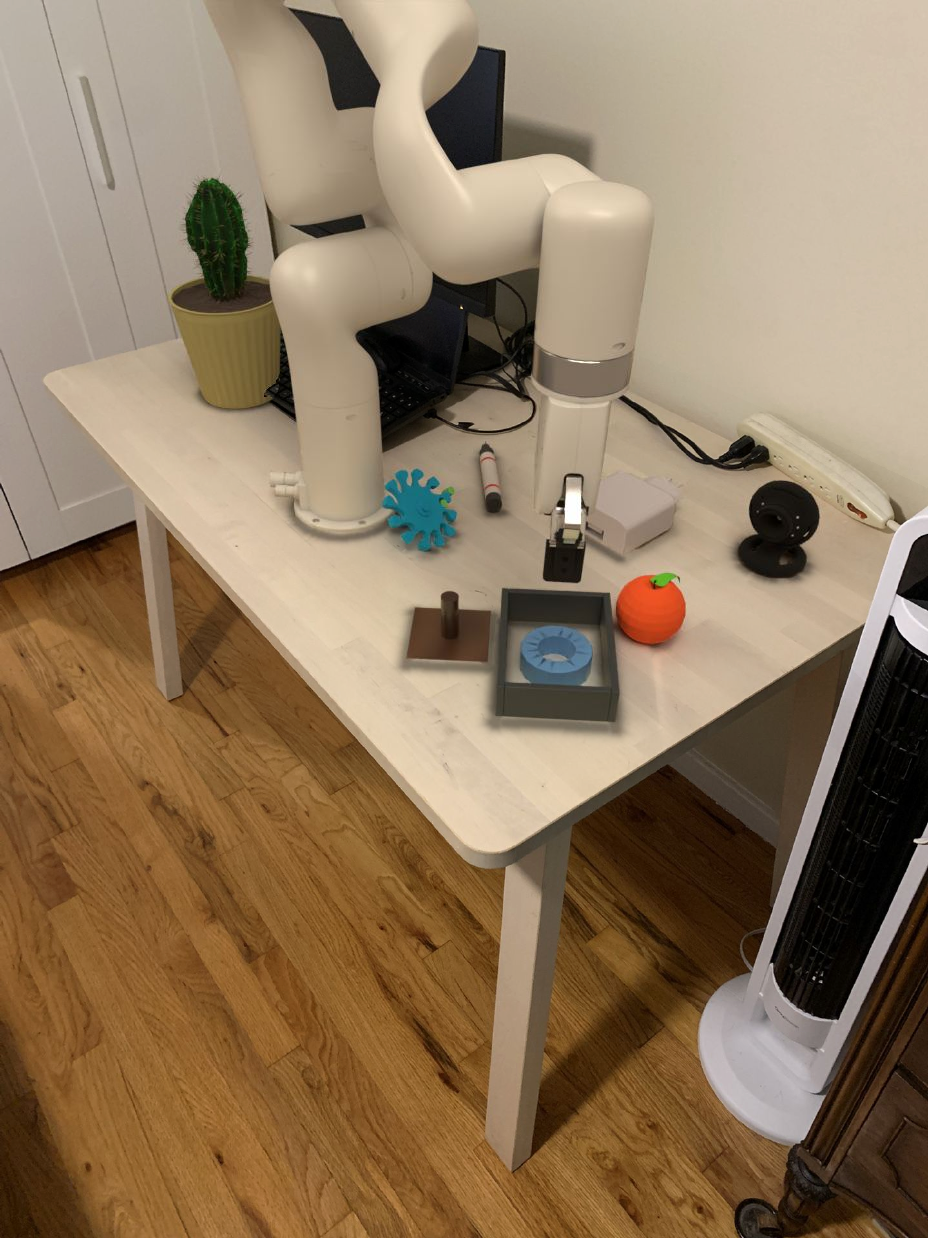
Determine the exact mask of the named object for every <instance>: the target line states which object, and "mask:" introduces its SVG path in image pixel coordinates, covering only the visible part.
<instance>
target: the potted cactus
mask: <svg viewBox="0 0 928 1238" xmlns="http://www.w3.org/2000/svg"><path fill="white" fill-rule="evenodd" d="M221 173H222V172H220V174H219V175H218V177H216V178H214V177H211V178H210V177H206V176H201V177H202V179H200V177H199V176H197V179H196V178H195V180H196V181H197V182H196V183H197V184H196V183H193V186H192V188H193V189H196V191H195V190H192V193H193V195H192V194H190V193H188V192H187V194H188V195H190V197H191V198H192V199H191V198H189V197H188V196H187V195H185V194H184V196H185V197H186V198H187V200H185V201H186V204H187V205H188V208H187V207H182V208H183V209H184V210H187V211H186V212H184V217H183V221H185V222H183V221H182V223H180V224H179V226H180V228H178V230H180V231H184V234H185V235H186V237H185V238H184V239H183V240H182V239H181V240H180V241H181V242H182V243H183V242H185V243H183V244H182V246H183V245H185V244H186V243H187V244H186V246H187V245H189V247H188V250H189V251H188V253H190V252H191V253H195V255H194V257H197V259H194V261H195V263H194V264H195V265H194V266H195V267H193V268H192V269H196V268H200V269H199V271H200V273H199V272H198V273H197V275H200V276H198V278H197V277H196V278H194V279H190V280H188V281H185V282H182V283H181V284H179V285H177V286H175V287H174V288H172V289H171V290H170V292H169V293H168V295H167V301H168V304H170V307H171V310H172V313H173V317H174V319H175V322H176V325H177V327H178V330H179V333H180V337H181V338H182V342H183V344H184V347H185V350H186V354H187V356H188V358H189V361H190V364H191V366H192V370H193V372H194V375H195V378H196V381H197V384H198V387H199V390H200V393H201V395H202V398H203V399H204V401H205V402H206V403H207V404H210V405H211V406H215V407H217V408H221V409H231V410H235V409H237V410H239V409H249V408H254V407H257V406H261V405H264V404H267V403H268V402H271V401H272V400H273V399H274V398H272V397H270V396H269V395H268V396H267V397H264V393H265V392H266V390H267V389H268V388H269V387H271V386H272V385H273V384H275V383H276V380H277V379H278V376H279V374H280V373H281V371H280V370H281V369H280V368H281V326H280V323H279V320H278V316H277V313H276V310H275V307H274V304H273V300H272V296H271V291H270V284H269V278H267V277H263V276H260V275H253V274H251V273H253V271H251V270H252V268H251V267H248V262H249V263H250V261H249V257H248V256H249V255H252V252H249V251H250V249H253V250H254V248H255V246H254V245H252V244H254V243H255V241H253V238H252V237H249V236H251V234H248V233H250V232H252V231H253V230H252V229H248V226H247V225H249V224H250V222H249V223H246V224H245V222H246V221H247V218H246V219H245V218H244V214H245V213H248V211H245V210H246V208H244V207H243V205H242V204H241V203H240V201H239V199H240V198H241V197H242V196H243V195H244V194H245V192H244V193H242V192H241V190H240V191H239V192H236V193H234V191H233V190H232V189H230V187H231V184H230V183H229V184H228V185H227V184H226V183H224V181H223V179H222V180H221V181H222V182H221V181H220V176H221ZM190 180H191V179H190ZM191 182H193V181H192V180H191ZM194 192H195V193H194ZM238 194H240V195H239V196H238ZM178 222H181V221H178ZM180 241H179V242H180ZM246 252H249V253H246ZM196 262H197V263H196ZM248 269H251V270H250V271H249V270H248Z"/></svg>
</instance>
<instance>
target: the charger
mask: <svg viewBox="0 0 928 1238" xmlns="http://www.w3.org/2000/svg"><path fill="white" fill-rule="evenodd" d="M672 480H673V479H672V477H671V476H669V477H666V478H663V477H661V476H659V475H657V476H648V477H646V478H644V479H643V478H641V477H639V476H637V475H635V474H633V473H630V472H628V471H622V470H617V471H615V472H613V473H611V474H610V475H608V476H605V477H603V478H601V480H600V486H599V492H598V497H597V502H596V507H595V511H594V513H593V514H591V515H590V516H588V517H587V516H586V527H585V536H588V537H590V538H591V539H593V540H595V541H597V542H598V543H600V544H602V545H604V546H605V547H607V548H609V549H611V550H612V551H614V552H616V553H618V554H619V555H621V556H624V555H626V554H627V553H630V552H631V551H633V550H635V549H637V548H639V547H640V546H643V545H645V544H646V543H648V542H649V541H651V540H653V539H655V538H656V537H658V536H660V535H661V534H663V533H665V532H667V531H668V530H670V529H672V527H673V522H674V517H675V516H674V515H675V511H676V505H677V503H676V502H679V501H680V500H682V499H683V498H684V494H683V492H682V491H681V490H680V489H679V488H681V487H682V486H683V482H679V483H676V484H675V483H673V482H671V481H672ZM581 499H582V498H581Z"/></svg>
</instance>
